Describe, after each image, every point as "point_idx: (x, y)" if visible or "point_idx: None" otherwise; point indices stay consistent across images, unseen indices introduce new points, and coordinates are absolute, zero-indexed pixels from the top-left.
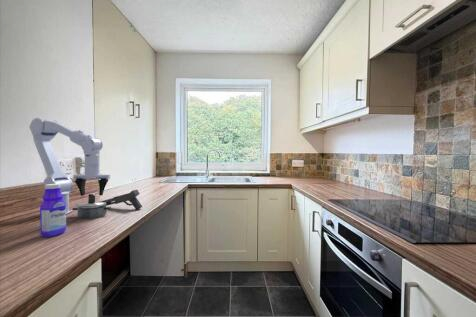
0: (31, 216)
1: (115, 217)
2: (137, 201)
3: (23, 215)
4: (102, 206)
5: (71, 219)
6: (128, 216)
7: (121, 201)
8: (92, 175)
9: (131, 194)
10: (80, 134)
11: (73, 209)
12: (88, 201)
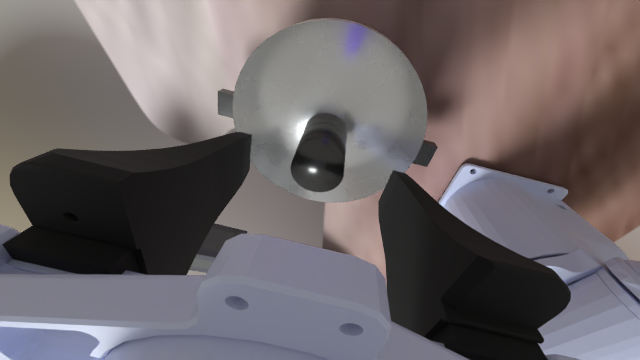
0: (603, 195)
1: (191, 20)
2: None
3: (629, 225)
4: None
5: (427, 57)
6: (125, 22)
7: None
8: (175, 328)
9: None
10: None
11: (429, 142)
12: (343, 129)
